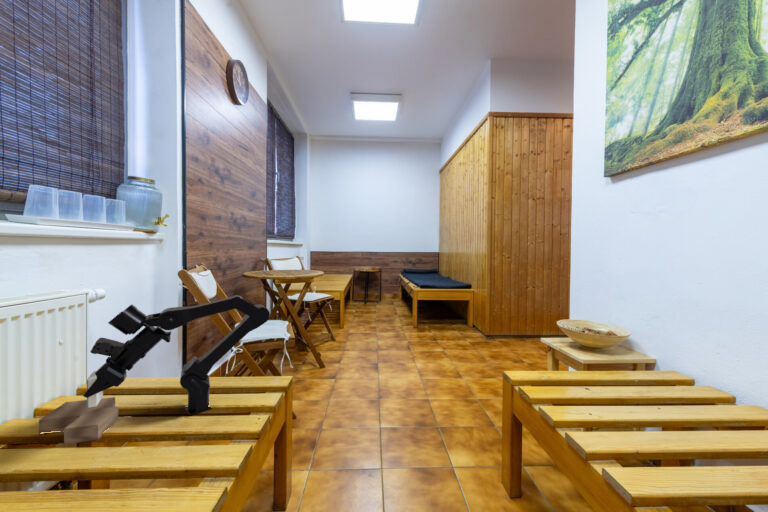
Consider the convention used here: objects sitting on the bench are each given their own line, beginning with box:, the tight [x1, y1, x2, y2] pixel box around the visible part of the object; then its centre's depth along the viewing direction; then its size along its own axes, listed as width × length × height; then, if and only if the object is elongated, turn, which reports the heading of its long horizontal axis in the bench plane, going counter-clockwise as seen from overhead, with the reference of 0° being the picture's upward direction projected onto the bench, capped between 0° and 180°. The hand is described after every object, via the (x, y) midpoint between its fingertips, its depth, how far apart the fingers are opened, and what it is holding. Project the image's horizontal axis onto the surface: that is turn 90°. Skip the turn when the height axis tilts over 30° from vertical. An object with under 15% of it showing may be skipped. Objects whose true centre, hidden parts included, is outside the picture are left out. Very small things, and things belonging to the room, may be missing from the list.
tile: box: [86, 370, 104, 408], centre depth 83 cm, size 2×6×8 cm, turn 32°
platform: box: [38, 396, 119, 445], centre depth 84 cm, size 16×16×4 cm
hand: (88, 391), depth 82 cm, fingers closed on tile, 6 cm apart
